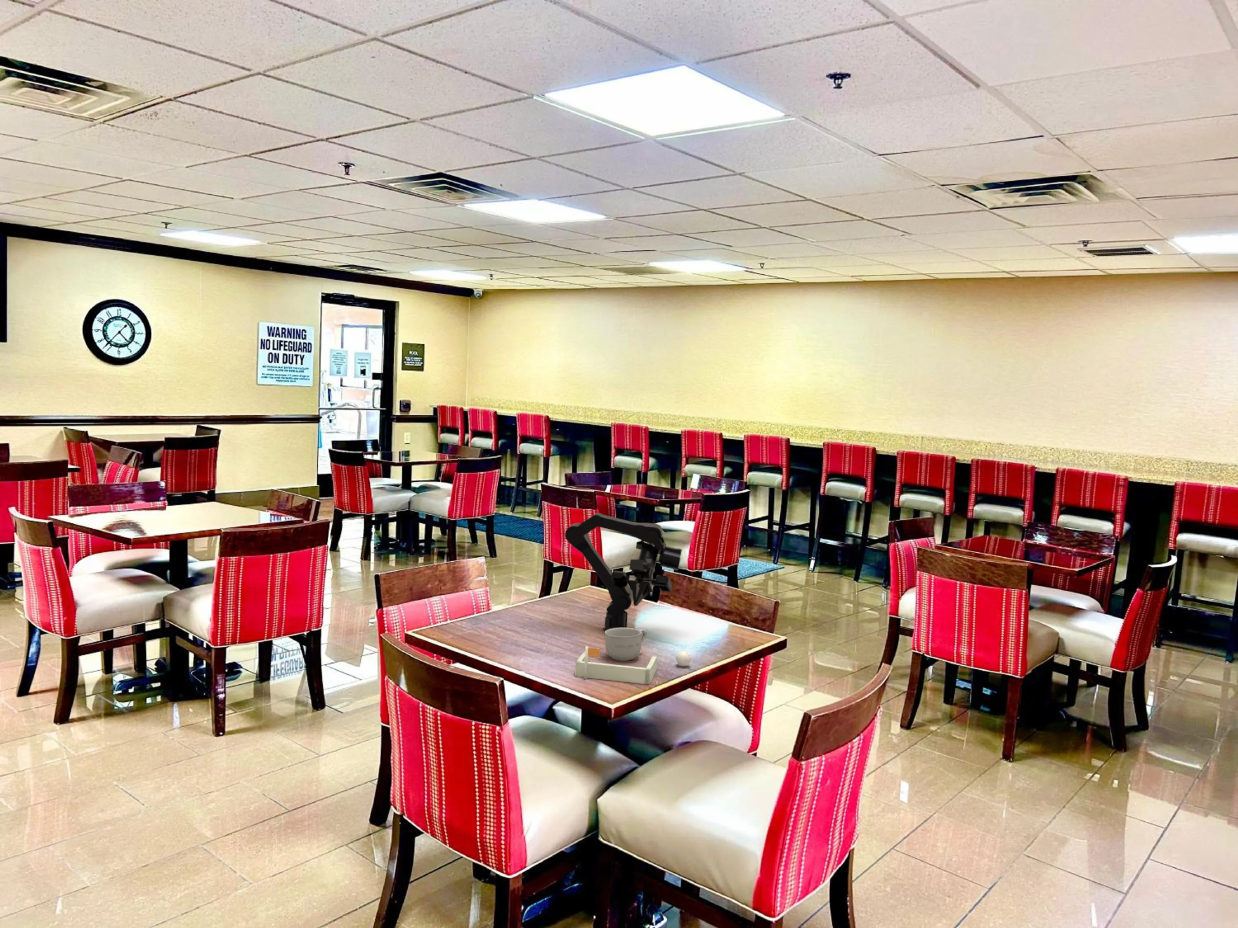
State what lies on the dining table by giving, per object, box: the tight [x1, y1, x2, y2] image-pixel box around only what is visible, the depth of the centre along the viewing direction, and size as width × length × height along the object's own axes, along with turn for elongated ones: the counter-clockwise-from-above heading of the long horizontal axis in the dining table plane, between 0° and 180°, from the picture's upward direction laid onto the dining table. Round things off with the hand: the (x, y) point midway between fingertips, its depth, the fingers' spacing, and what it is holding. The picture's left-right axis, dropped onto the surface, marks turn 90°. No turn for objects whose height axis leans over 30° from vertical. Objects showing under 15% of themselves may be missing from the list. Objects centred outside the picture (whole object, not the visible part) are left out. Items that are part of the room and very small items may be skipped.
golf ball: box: [675, 650, 692, 667], centre depth 251 cm, size 4×4×4 cm
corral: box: [574, 645, 658, 685], centre depth 241 cm, size 14×20×9 cm
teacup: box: [604, 627, 648, 662], centre depth 257 cm, size 14×11×8 cm
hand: (635, 605), depth 270 cm, fingers closed
